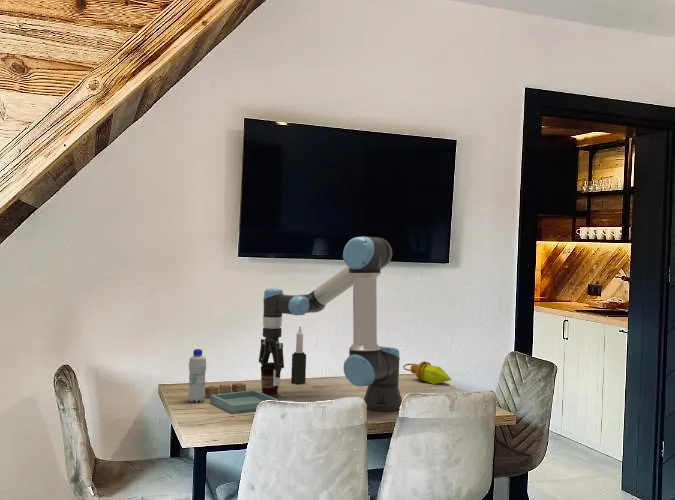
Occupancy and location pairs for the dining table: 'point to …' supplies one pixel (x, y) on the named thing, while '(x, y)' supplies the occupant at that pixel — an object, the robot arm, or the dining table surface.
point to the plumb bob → (428, 373)
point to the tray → (239, 401)
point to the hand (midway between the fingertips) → (270, 383)
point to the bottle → (197, 376)
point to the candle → (298, 361)
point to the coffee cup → (268, 379)
